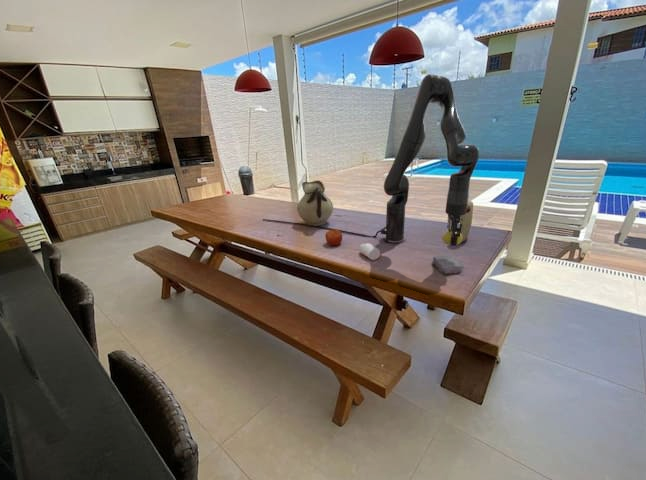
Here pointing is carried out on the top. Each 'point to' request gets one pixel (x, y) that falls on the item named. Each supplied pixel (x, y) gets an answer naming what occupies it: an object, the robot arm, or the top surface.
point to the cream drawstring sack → (314, 204)
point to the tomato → (333, 237)
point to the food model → (466, 221)
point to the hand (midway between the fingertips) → (451, 242)
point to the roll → (370, 251)
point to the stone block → (447, 264)
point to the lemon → (448, 238)
